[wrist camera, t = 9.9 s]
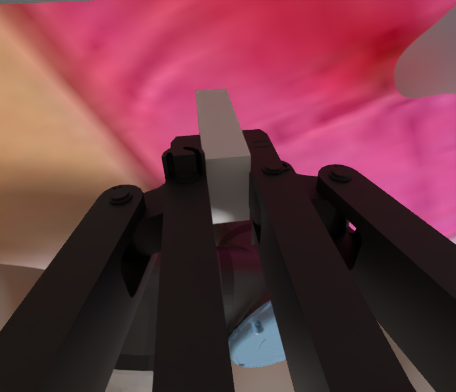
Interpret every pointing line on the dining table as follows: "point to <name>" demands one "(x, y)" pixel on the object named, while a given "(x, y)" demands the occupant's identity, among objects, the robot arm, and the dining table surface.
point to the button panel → (33, 1)
